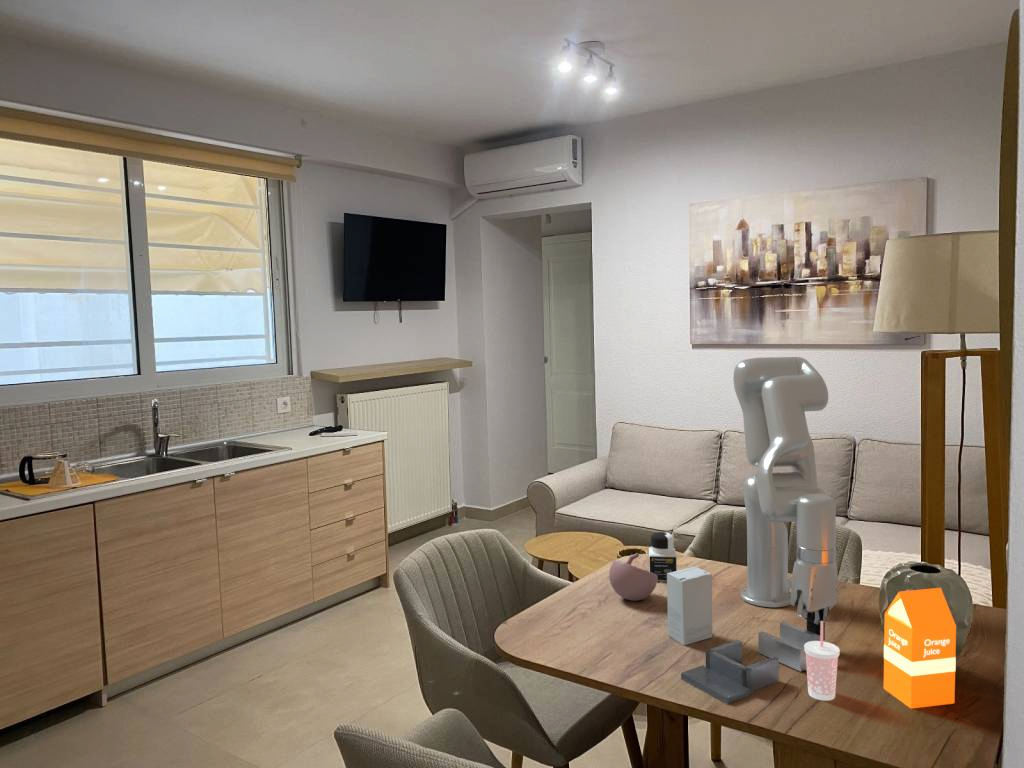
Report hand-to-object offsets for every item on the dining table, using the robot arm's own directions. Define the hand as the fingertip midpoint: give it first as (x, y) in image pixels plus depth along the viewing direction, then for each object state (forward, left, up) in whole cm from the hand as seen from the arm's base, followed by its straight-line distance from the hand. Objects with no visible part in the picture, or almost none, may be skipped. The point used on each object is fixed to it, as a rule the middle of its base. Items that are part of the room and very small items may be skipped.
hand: (815, 639), depth 158 cm
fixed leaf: (+25, 0, -2) cm, 25 cm away
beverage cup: (+15, +13, -2) cm, 20 cm away
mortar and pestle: (+12, -44, -2) cm, 46 cm away
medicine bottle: (-5, -52, -2) cm, 52 cm away
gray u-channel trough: (+8, 0, -2) cm, 8 cm away
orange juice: (+1, +23, -2) cm, 23 cm away
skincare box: (+17, -19, -2) cm, 26 cm away
